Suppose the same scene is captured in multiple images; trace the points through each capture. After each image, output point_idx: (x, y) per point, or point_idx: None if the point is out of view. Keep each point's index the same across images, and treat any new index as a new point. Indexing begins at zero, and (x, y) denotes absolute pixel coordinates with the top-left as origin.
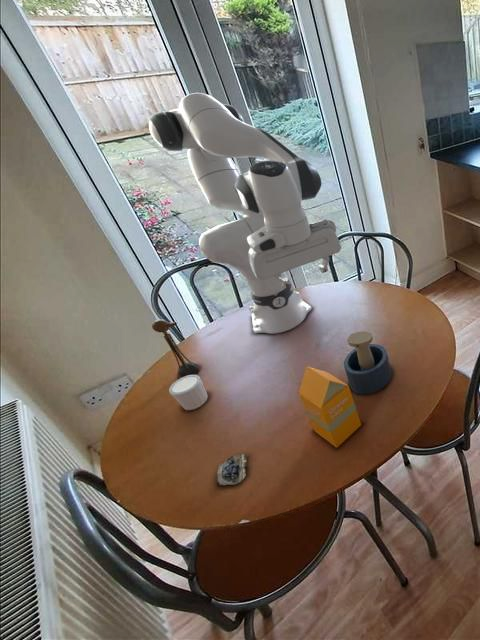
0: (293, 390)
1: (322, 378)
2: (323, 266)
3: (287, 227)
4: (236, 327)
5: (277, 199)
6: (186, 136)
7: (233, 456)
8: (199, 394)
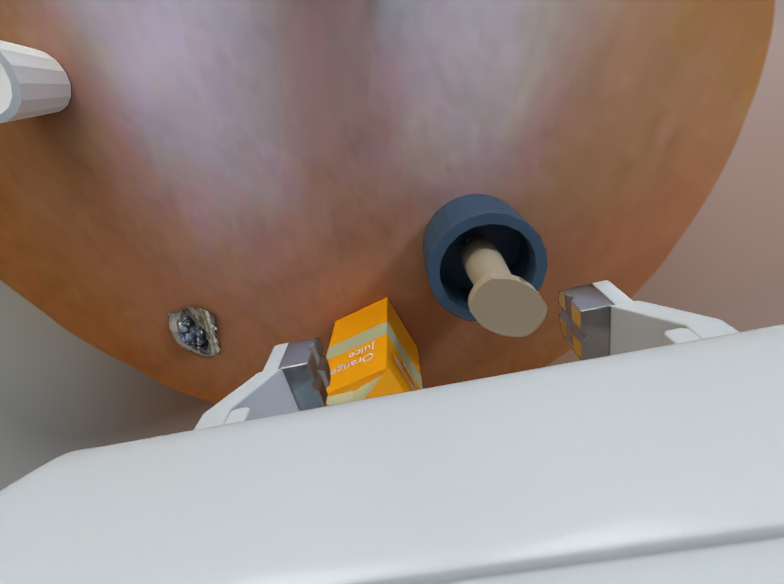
0: (294, 183)
1: None
2: (606, 347)
3: None
4: None
5: None
6: None
7: (190, 309)
8: (43, 105)
